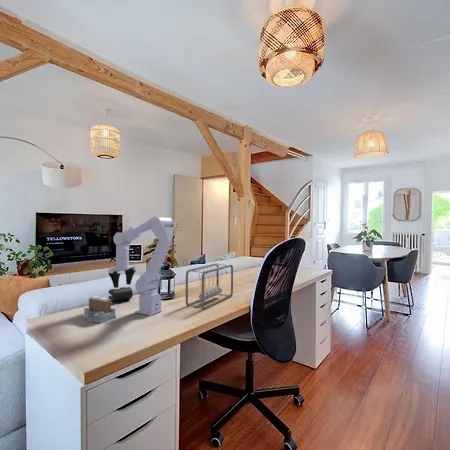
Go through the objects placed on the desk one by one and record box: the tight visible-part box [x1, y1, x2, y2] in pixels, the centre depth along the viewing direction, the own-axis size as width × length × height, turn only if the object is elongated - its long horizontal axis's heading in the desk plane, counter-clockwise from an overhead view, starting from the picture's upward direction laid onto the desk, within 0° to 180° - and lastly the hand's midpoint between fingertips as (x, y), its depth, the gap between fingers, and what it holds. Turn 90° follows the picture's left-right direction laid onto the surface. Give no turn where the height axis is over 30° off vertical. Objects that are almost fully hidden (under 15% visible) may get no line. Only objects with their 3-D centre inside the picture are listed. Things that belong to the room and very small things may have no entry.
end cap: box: [108, 286, 134, 304], centre depth 143 cm, size 10×7×7 cm
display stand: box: [82, 307, 117, 324], centre depth 117 cm, size 11×8×4 cm
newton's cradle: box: [185, 262, 234, 310], centre depth 145 cm, size 30×10×18 cm, turn 151°
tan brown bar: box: [88, 295, 112, 314], centre depth 117 cm, size 10×3×6 cm, turn 62°
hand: (122, 285), depth 134 cm, fingers open, 7 cm apart
